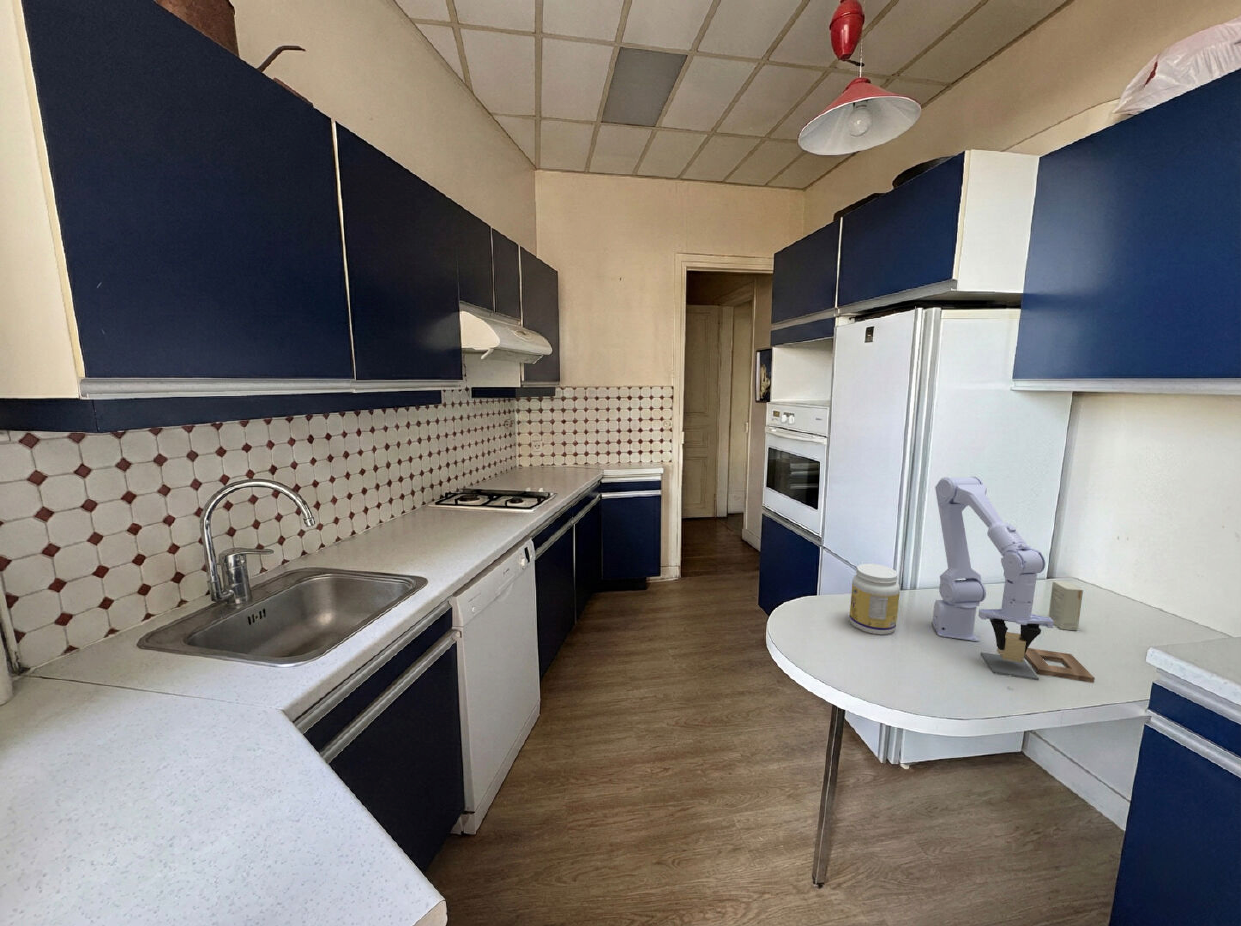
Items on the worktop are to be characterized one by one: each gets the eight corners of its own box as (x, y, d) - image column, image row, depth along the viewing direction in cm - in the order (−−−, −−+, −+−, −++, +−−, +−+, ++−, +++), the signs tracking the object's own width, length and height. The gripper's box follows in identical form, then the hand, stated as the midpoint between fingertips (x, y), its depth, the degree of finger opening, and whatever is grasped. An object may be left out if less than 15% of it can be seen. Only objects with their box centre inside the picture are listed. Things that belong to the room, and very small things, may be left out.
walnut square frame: (1038, 673, 120) (1038, 669, 120) (1019, 650, 130) (1020, 646, 130) (1094, 682, 117) (1094, 677, 117) (1070, 658, 127) (1071, 654, 127)
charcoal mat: (993, 672, 121) (993, 671, 121) (980, 653, 129) (980, 651, 129) (1038, 680, 118) (1038, 678, 118) (1022, 660, 126) (1022, 658, 126)
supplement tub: (846, 613, 152) (850, 560, 149) (890, 618, 148) (895, 564, 145) (852, 632, 140) (857, 576, 137) (900, 638, 137) (906, 581, 134)
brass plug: (1003, 659, 122) (1006, 638, 121) (997, 651, 125) (999, 630, 125) (1023, 662, 120) (1026, 641, 119) (1016, 653, 124) (1019, 633, 123)
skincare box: (1078, 631, 140) (1085, 590, 138) (1060, 629, 141) (1066, 589, 139) (1063, 620, 147) (1069, 581, 145) (1046, 619, 147) (1052, 580, 145)
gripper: (988, 600, 119) (981, 652, 121) (1063, 609, 114) (1054, 663, 117) (978, 588, 126) (972, 638, 128) (1048, 596, 121) (1040, 648, 123)
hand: (1010, 649), depth 123 cm, fingers closed on brass plug, 4 cm apart
